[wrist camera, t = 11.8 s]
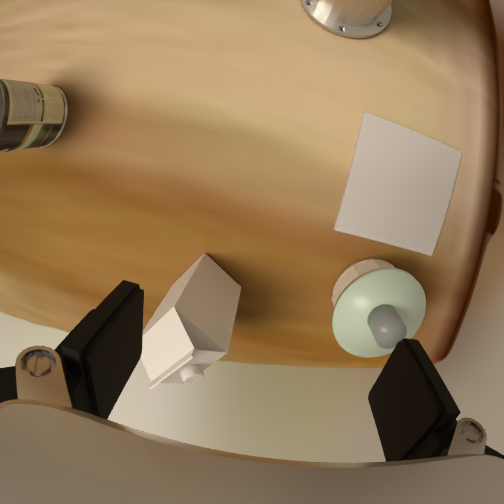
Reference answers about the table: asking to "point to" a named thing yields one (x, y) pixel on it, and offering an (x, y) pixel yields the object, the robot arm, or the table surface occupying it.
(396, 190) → the mat
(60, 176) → the table surface
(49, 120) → the coffee can
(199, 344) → the milk carton
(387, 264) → the bowl
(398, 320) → the lid
